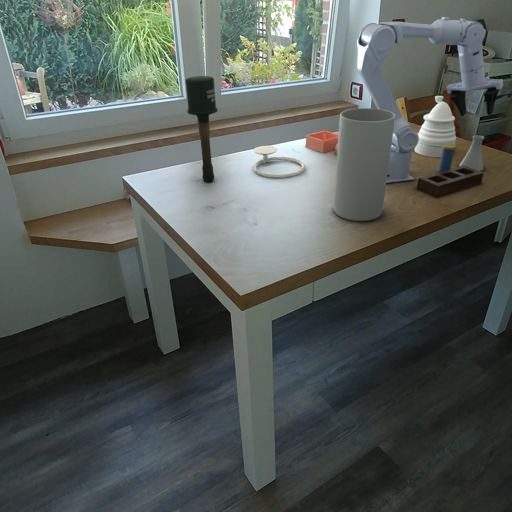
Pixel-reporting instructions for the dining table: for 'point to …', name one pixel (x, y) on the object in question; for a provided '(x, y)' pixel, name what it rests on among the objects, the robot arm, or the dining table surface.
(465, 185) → the holder
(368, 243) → the dining table surface
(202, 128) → the stick grenade
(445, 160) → the capped tube
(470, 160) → the flask
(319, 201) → the dining table surface
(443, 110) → the honey pot
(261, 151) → the hand towel holder
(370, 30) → the robot arm
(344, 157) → the cylinder vase
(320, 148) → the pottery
